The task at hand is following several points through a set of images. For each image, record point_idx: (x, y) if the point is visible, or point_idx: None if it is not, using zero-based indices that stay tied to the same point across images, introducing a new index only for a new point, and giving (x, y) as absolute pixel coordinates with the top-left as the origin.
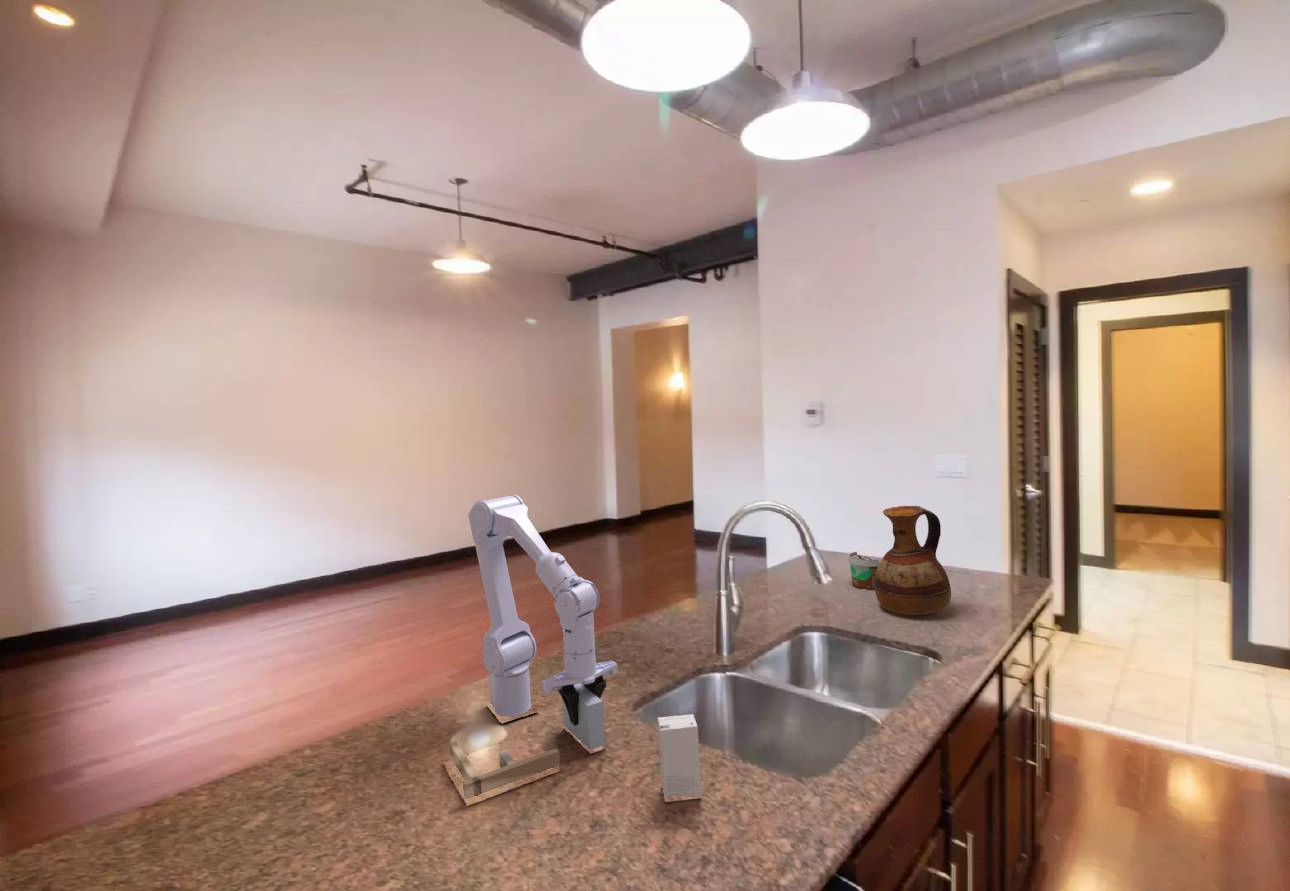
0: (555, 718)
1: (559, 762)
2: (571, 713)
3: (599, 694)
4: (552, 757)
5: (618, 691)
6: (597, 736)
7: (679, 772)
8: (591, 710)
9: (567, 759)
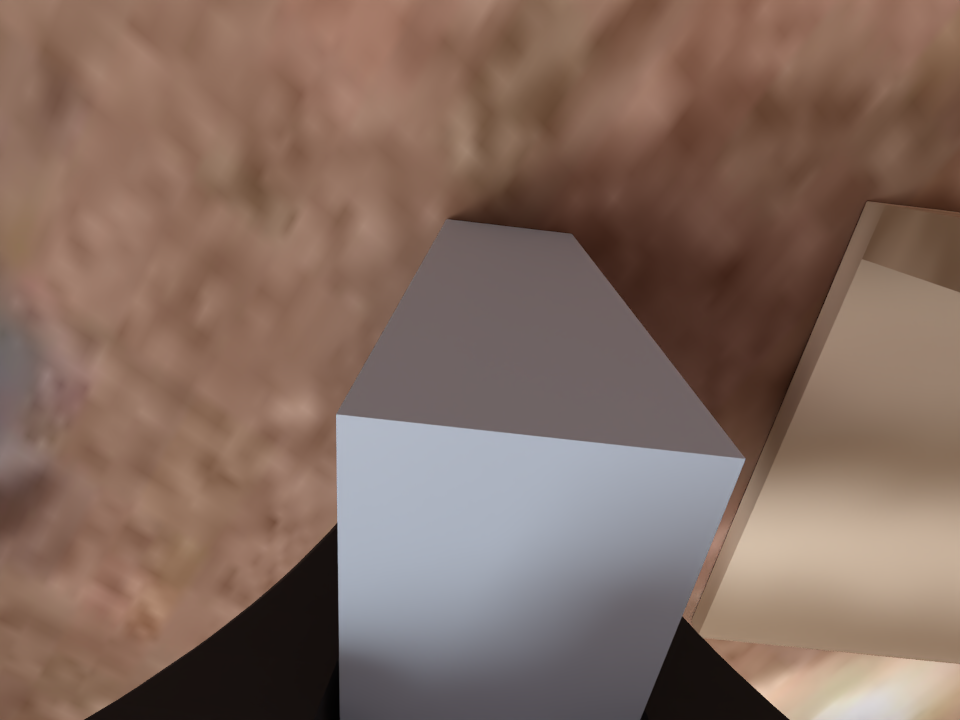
0: None
1: (925, 211)
2: None
3: (244, 656)
4: None
5: (63, 664)
6: (508, 251)
7: None
8: (620, 387)
9: (716, 299)
